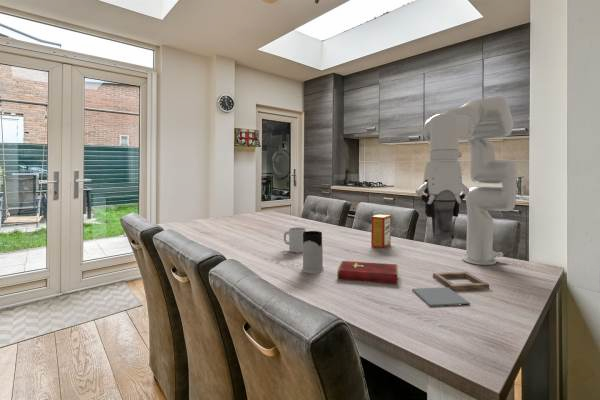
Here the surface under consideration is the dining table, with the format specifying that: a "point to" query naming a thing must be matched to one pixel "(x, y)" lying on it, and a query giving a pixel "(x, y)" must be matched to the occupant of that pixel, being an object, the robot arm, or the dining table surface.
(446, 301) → the slate mat
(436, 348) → the dining table surface
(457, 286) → the frame
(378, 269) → the hardcover book
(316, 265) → the glass holder
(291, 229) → the mug
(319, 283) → the dining table surface
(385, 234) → the baking soda box
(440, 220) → the beverage cup
